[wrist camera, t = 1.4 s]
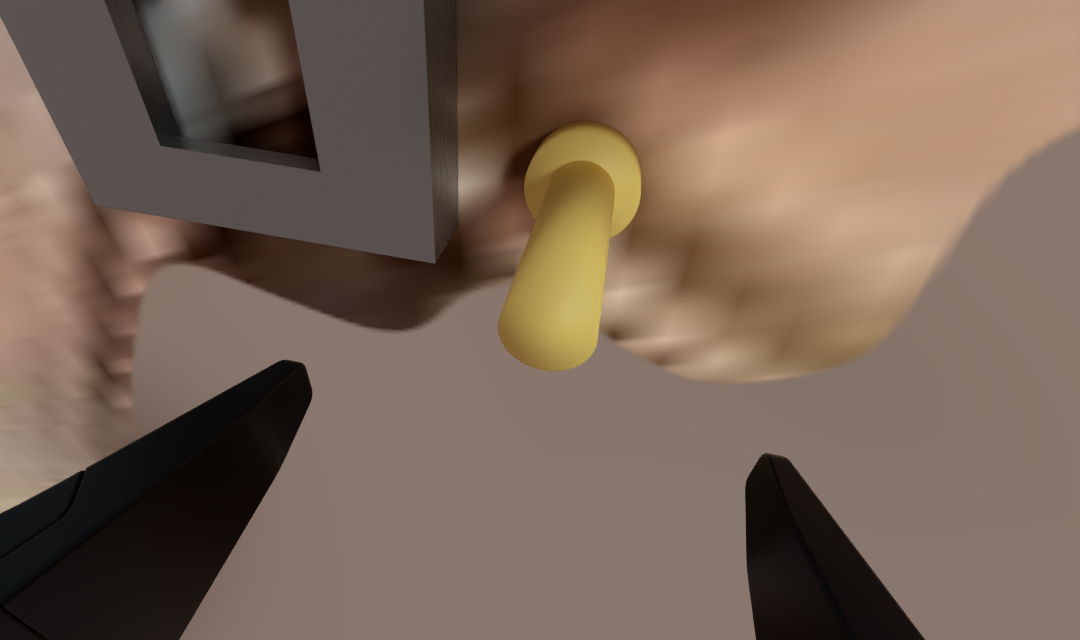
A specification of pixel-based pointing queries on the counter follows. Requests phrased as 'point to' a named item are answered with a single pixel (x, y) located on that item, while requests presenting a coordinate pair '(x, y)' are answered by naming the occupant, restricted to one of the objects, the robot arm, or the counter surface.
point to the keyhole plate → (253, 174)
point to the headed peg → (569, 243)
